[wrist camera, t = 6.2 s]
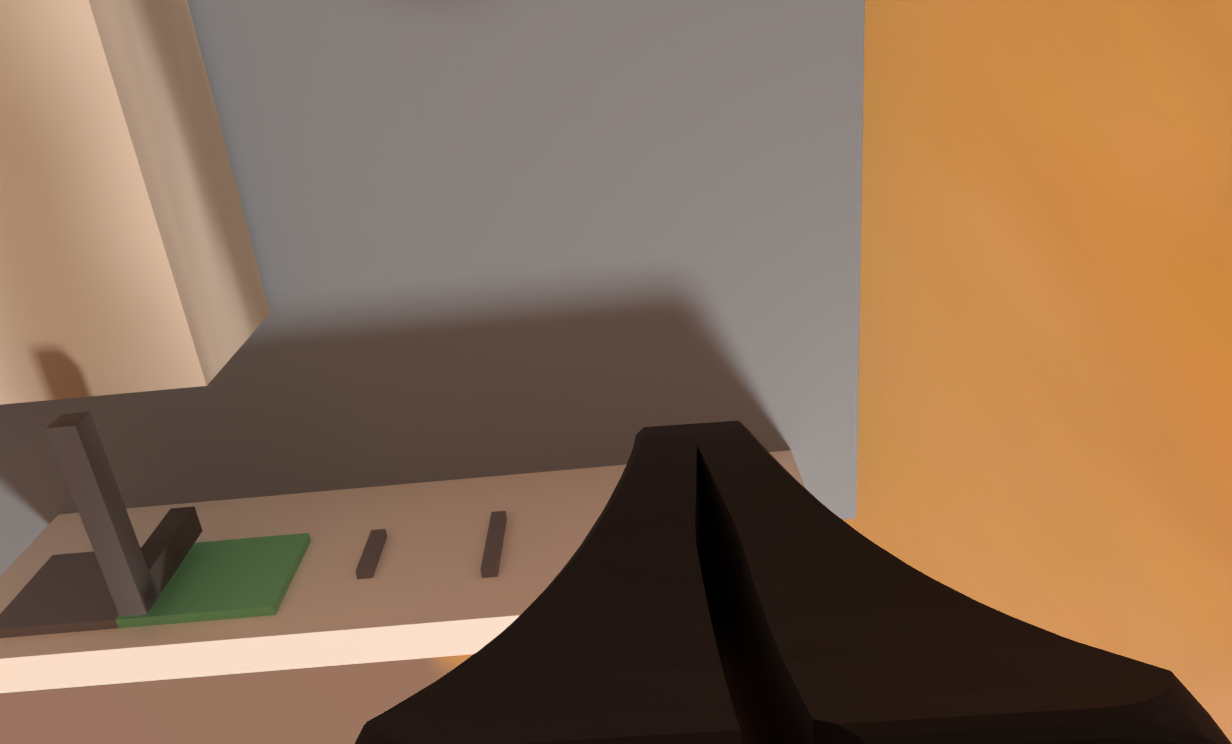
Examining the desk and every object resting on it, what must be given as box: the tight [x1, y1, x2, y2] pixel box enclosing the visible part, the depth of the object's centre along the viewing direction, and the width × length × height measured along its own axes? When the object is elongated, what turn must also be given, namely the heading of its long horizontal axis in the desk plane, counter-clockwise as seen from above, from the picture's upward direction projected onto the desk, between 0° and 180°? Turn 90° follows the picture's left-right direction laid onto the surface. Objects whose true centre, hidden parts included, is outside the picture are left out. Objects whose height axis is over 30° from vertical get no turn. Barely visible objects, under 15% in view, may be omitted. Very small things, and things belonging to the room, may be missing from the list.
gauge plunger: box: [0, 0, 270, 617], centre depth 17 cm, size 4×11×5 cm, turn 5°
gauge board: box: [0, 0, 865, 693], centre depth 17 cm, size 22×20×6 cm
